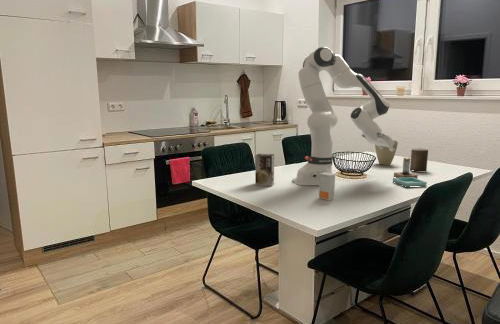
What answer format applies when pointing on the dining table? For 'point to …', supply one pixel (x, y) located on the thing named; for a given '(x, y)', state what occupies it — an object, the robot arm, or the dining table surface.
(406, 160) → the metal peg
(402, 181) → the teal tray
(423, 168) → the pillar candle
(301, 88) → the robot arm
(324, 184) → the skincare box
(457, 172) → the dining table surface
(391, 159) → the plant pot
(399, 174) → the walnut collar
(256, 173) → the coffee box
